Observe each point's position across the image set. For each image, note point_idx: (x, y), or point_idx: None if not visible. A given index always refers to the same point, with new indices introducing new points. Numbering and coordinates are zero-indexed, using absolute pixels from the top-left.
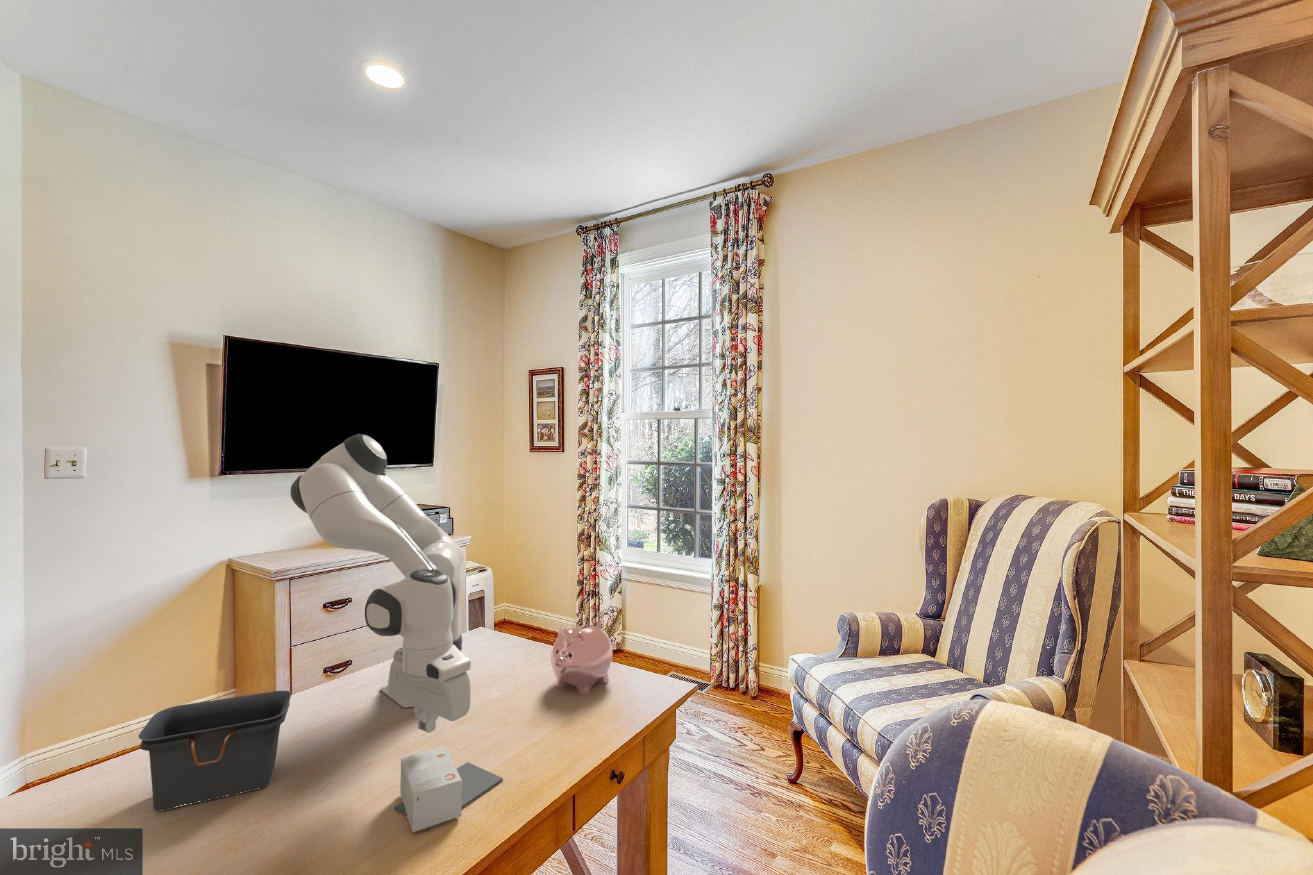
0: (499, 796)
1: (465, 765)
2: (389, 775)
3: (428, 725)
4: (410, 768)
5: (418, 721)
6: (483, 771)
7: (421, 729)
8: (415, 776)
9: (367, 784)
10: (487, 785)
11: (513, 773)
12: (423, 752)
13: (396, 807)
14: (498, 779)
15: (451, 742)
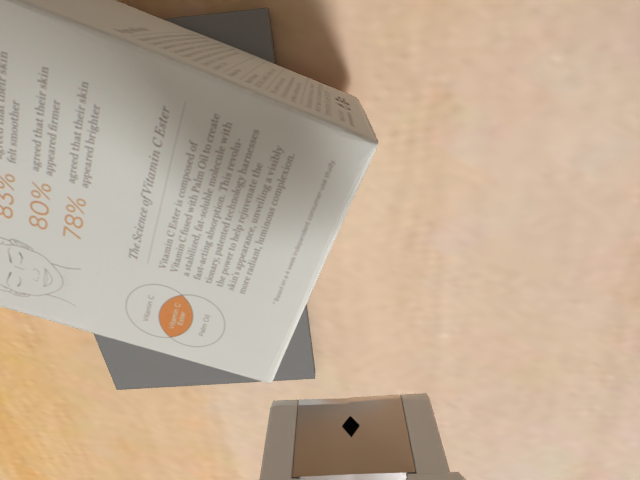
0: (38, 329)
1: (300, 363)
2: (547, 146)
3: (264, 468)
4: (169, 108)
5: (433, 458)
6: (208, 376)
7: (370, 398)
8: (18, 69)
9: (591, 30)
10: (111, 339)
11: (136, 419)
12: (302, 275)
13: (248, 11)
14: (119, 378)
15: (501, 413)
